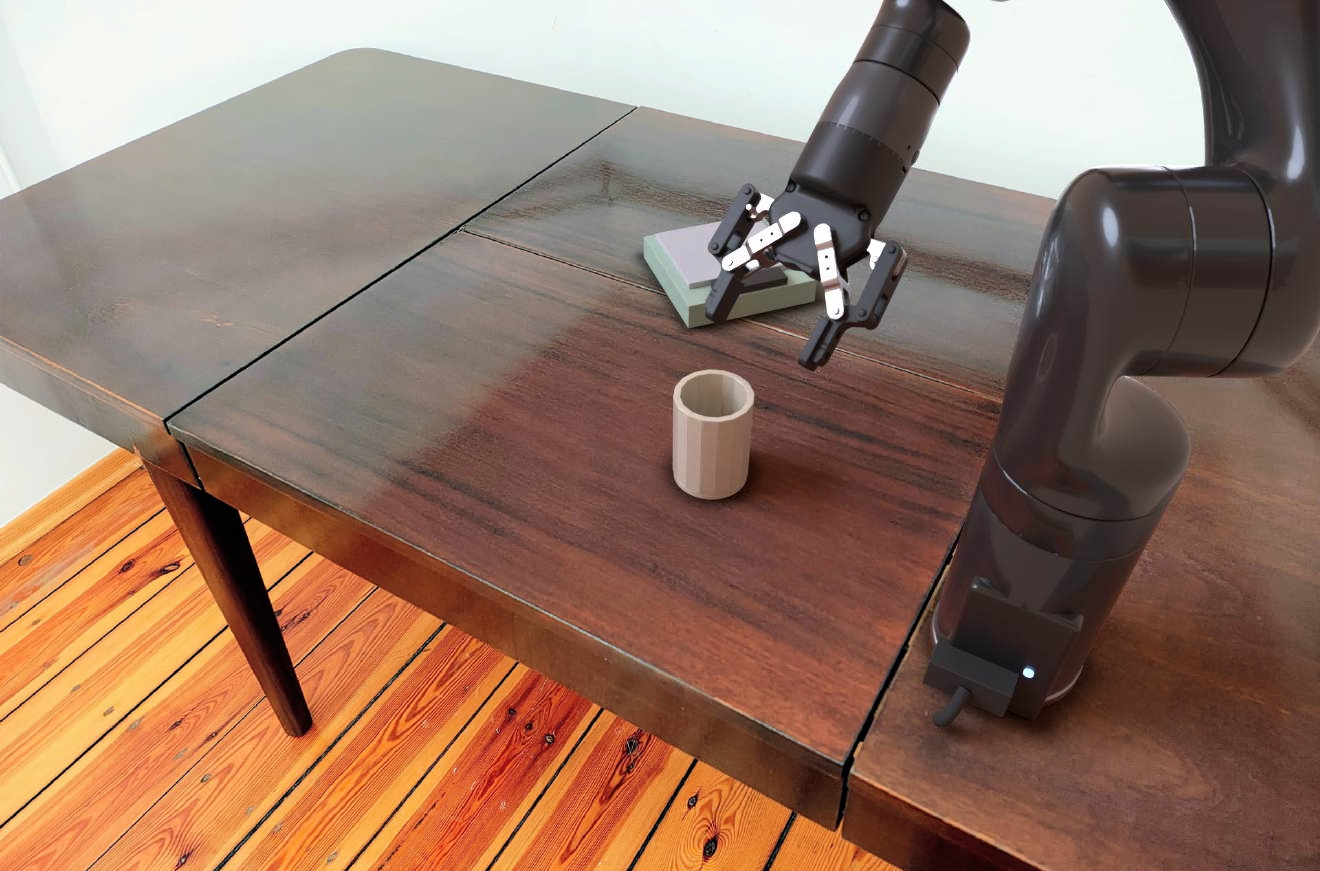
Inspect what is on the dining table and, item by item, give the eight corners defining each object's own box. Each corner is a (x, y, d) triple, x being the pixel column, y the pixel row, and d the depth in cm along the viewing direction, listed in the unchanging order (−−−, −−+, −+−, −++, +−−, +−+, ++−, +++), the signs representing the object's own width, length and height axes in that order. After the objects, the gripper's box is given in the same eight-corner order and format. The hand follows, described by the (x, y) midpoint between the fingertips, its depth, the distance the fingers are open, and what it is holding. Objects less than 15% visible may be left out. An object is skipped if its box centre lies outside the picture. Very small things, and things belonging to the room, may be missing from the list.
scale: (814, 301, 90) (818, 272, 87) (688, 328, 87) (688, 299, 84) (759, 235, 99) (762, 207, 96) (643, 257, 96) (643, 229, 93)
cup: (727, 510, 70) (732, 431, 64) (659, 483, 72) (659, 404, 66) (759, 462, 74) (767, 384, 68) (694, 438, 76) (697, 360, 70)
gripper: (765, 94, 68) (661, 293, 69) (941, 152, 61) (822, 373, 62) (800, 138, 74) (705, 320, 76) (963, 196, 67) (854, 395, 69)
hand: (758, 344), depth 69 cm, fingers open, 8 cm apart
